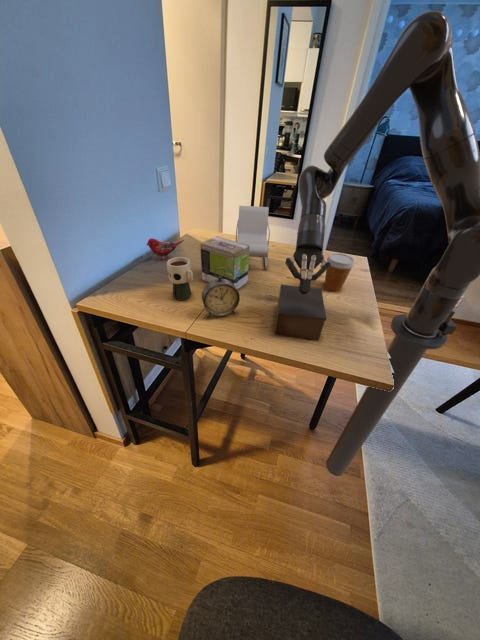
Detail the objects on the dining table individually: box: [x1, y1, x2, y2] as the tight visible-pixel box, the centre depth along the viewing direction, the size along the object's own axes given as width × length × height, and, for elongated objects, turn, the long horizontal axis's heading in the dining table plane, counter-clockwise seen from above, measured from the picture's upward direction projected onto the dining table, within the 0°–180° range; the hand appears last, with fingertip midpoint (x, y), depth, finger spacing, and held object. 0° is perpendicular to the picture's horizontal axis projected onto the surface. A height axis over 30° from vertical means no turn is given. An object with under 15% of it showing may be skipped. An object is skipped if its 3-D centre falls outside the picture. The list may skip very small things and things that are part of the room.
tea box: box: [199, 235, 250, 290], centre depth 95 cm, size 15×10×15 cm
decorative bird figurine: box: [146, 237, 185, 261], centre depth 110 cm, size 3×18×10 cm, turn 132°
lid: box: [278, 283, 327, 322], centre depth 75 cm, size 16×13×1 cm
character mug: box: [166, 256, 194, 301], centre depth 85 cm, size 11×7×13 cm, turn 57°
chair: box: [235, 205, 271, 270], centre depth 110 cm, size 13×25×20 cm, turn 178°
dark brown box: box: [274, 292, 326, 341], centre depth 78 cm, size 15×13×8 cm
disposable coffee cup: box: [323, 252, 355, 293], centre depth 95 cm, size 10×10×12 cm
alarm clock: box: [201, 267, 241, 319], centre depth 77 cm, size 11×5×16 cm, turn 106°
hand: (304, 293), depth 72 cm, fingers closed
